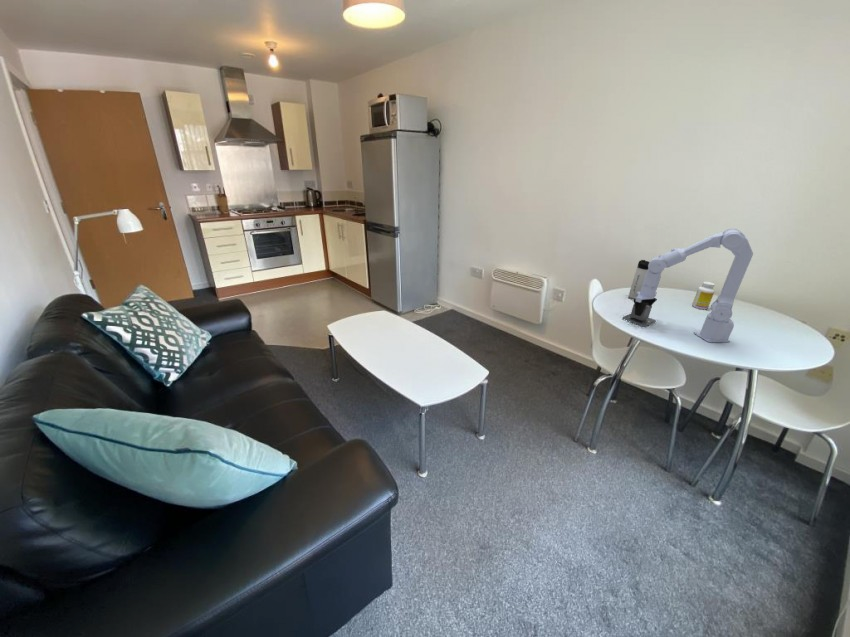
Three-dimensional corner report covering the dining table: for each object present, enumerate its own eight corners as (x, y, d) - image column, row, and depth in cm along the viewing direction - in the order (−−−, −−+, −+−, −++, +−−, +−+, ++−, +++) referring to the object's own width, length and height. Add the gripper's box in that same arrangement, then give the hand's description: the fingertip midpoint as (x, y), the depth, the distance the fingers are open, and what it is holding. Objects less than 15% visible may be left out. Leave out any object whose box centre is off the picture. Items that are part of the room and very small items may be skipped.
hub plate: (633, 314, 166) (635, 305, 164) (655, 322, 159) (658, 313, 157) (622, 318, 161) (624, 309, 159) (644, 327, 154) (647, 318, 152)
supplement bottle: (710, 310, 175) (720, 285, 169) (697, 309, 175) (707, 285, 169) (701, 304, 181) (710, 281, 175) (688, 304, 181) (697, 280, 175)
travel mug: (637, 296, 189) (649, 260, 180) (643, 301, 183) (655, 263, 174) (625, 295, 189) (636, 259, 181) (631, 300, 183) (642, 263, 175)
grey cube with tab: (636, 313, 163) (640, 301, 160) (648, 318, 159) (652, 305, 156) (630, 316, 160) (633, 303, 158) (642, 320, 156) (646, 307, 153)
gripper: (648, 280, 160) (639, 307, 165) (632, 285, 152) (623, 314, 158) (665, 284, 154) (655, 312, 160) (649, 290, 147) (639, 319, 153)
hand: (640, 313), depth 159 cm, fingers closed on grey cube with tab, 5 cm apart
